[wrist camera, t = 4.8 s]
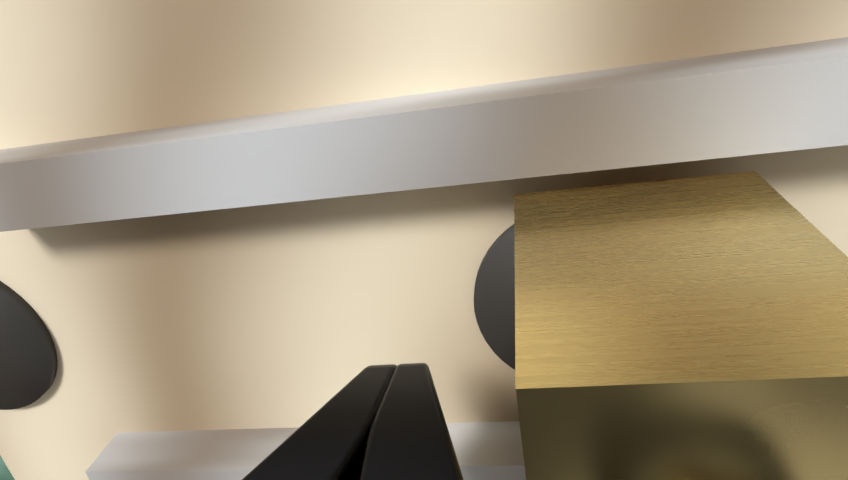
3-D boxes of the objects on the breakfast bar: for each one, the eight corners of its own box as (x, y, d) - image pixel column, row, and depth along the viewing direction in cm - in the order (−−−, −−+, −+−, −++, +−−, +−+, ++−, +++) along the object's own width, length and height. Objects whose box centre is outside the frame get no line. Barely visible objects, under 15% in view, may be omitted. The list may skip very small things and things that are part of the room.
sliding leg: (746, 163, 8) (1101, 494, 3) (729, 404, 9) (945, 860, 5) (514, 186, 8) (516, 497, 4) (536, 410, 10) (557, 822, 5)
